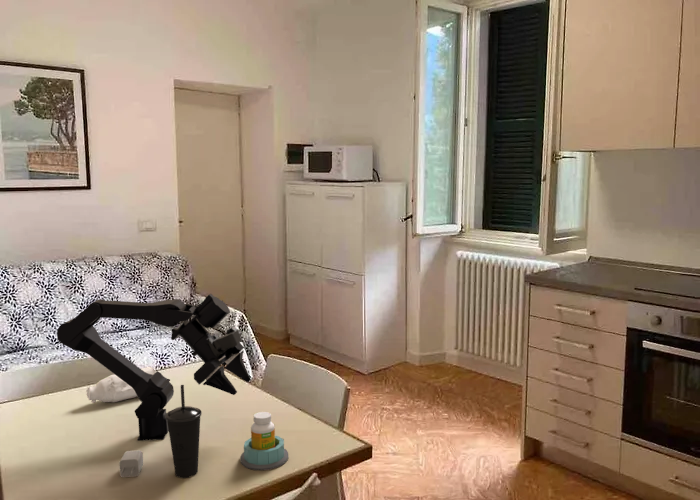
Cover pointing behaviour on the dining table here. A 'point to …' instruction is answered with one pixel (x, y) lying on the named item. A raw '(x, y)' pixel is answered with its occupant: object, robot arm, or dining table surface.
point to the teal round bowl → (264, 456)
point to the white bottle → (113, 389)
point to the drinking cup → (184, 438)
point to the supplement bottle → (262, 432)
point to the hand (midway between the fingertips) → (242, 387)
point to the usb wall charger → (131, 463)
